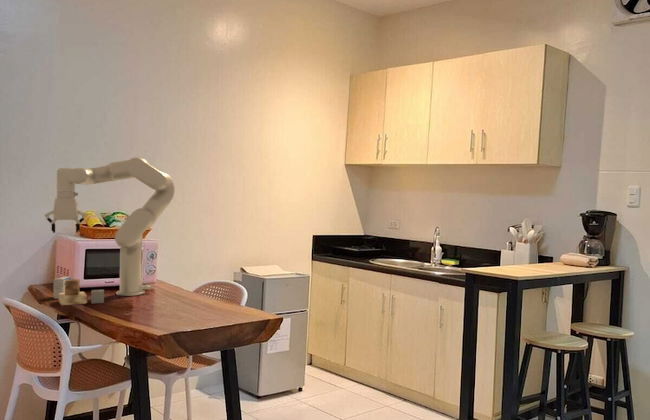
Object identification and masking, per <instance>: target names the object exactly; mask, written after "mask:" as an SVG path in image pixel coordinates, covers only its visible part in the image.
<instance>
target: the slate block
mask: <svg viewBox="0 0 650 420" xmlns="http://www.w3.org/2000/svg"><path fill="white" fill-rule="evenodd" d="M90 294H91V295H90V296H91V298H90V299H91V301H90V303H91V304H104V303H105V289H92V290H91V291H90Z"/></svg>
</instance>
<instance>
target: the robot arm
mask: <svg viewBox="0 0 650 420" xmlns="http://www.w3.org/2000/svg"><path fill="white" fill-rule="evenodd" d="M128 179H136V180H138V181H139V182H141V183H143V184H144V185H145V186H147V187H149V189H150V188H151V189H152V190H155V191H154V193H153V194H152V195H151V196H150V197H149V198H148V200H147V201H146V203H144V205H143V206H142V207H139V208H137V209H135V210H134V211H132V212H131V214H129V216H128V217H127V218H126V219H125V220H124V222H123V223H122V224H121V225H120V227H118V229H117V230H116V232H115V235H114V241H115V243H116V244H117V246H119V247H120V249H119V290H117V291H116V292H115V294H116V296H121V297H132V296H134V297H135V296H141V295H145V292H146V291H145V290H153V289H152V285H150V284H148V285H147V284H146V285H145V284H143V283H142V250H143V249H142V248H143V239H144V238H143V234H144V233H145V232H146V230H147V229H149V228H151V227H152V226H153V225H154V224H155V222H156V221H157V220H158V219H159V218H160V216H161V215H162V214H163V213H164V211H165V210H166V208H167V207H168V206H169V205H170V204H171V201H172V200H173V198H174V197H175V196H174V195H175V190H176V189H175V183H174V180H173V179H172V177H171V176H170V175H169V174H168V173H166V172H162V171H160V170H158V168H157V169H156V168H155V167H154V166H152V165H150V164H149V162H148V161H147V160H146V159H144V158H141V157H132V158H130V159H126V160H120V161H113V162H110V163H107V164H105V165H103V166H98V167H93V168H92V167H91V168H87V167H86V168H85V167H78V168H77V167H76V168H70V167H69V168H68V167H64V168H63V167H62V168H61V167H60V168H58V169H57V170H56V197H55V198H54V202H53V210H51V211H50V212H47V213H45V214H44V216H45V219H46V220H47V221H48V222H49V223H50V224H51V232H52V233H53V234H55V233H56V221H75V222H76V224H75V232H76V233H77V234H78V233H79V231H81V230H80V225H81V223H82V222H84V220H85V218H86V217H87V214H86V213H84V212H81V211H79V206H78V199H77V198H75V197H78V196H79V192H76V185H83V186H84V185H87V186H88V185H89V186H90V185H95V184H100V183H107V182H115V181H123V180H128ZM52 215H53V219H51V217H50V216H52ZM79 215H80V216H81V218H80V219H78V218H79V217H78V216H79Z"/></svg>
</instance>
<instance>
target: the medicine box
mask: <svg viewBox="0 0 650 420" xmlns="http://www.w3.org/2000/svg"><path fill="white" fill-rule="evenodd" d="M67 279H72V277H71V276H62V277H58V278H57V277H56V278H54V279H53V299H58V300H59V293H65V281H66V280H67Z"/></svg>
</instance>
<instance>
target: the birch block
mask: <svg viewBox="0 0 650 420" xmlns="http://www.w3.org/2000/svg"><path fill="white" fill-rule="evenodd" d="M58 303H59V304H60V306H70V305H85V304H86V303H87V304H88V295H87V294H86V292H85V291H80V293H79V294H78V295H65V293H59V299H58Z"/></svg>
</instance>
